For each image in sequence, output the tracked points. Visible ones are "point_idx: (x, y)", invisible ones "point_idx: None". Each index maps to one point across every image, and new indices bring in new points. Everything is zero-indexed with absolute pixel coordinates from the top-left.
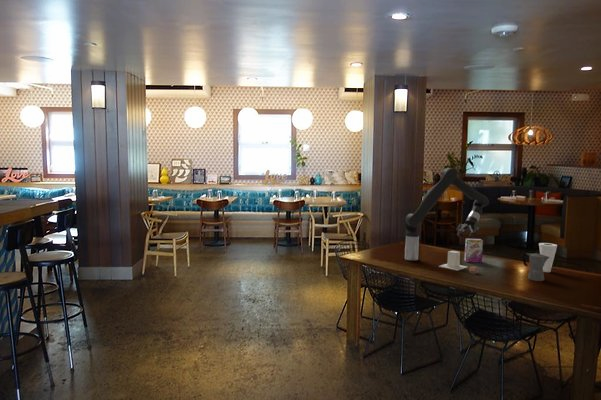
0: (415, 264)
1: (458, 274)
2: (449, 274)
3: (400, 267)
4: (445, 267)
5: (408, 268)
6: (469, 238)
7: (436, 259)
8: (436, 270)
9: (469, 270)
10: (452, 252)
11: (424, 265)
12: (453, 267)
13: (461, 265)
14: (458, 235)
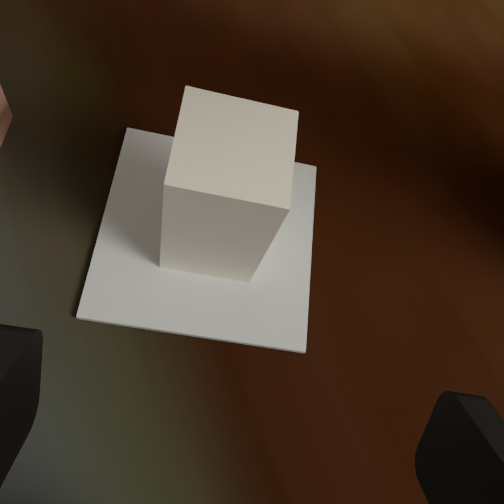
0: (470, 132)
1: (81, 30)
2: (141, 3)
3: (472, 14)
4: None
5: (426, 15)
6: (34, 406)
7: None
8: (266, 55)
9: (3, 99)
10: (234, 99)
11: (410, 141)
12: None
13: (156, 321)
14: (438, 423)
